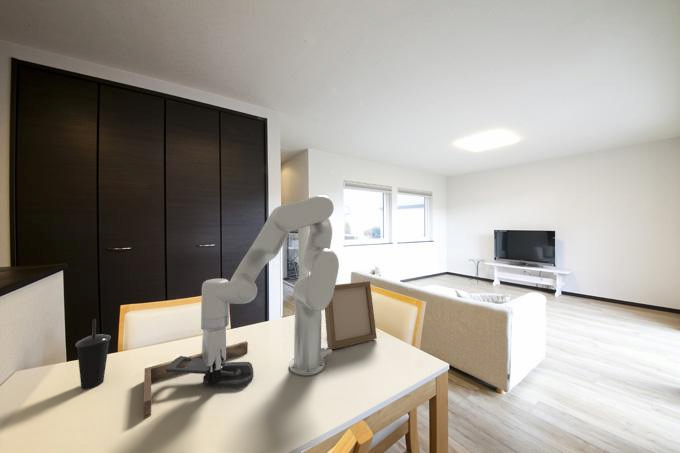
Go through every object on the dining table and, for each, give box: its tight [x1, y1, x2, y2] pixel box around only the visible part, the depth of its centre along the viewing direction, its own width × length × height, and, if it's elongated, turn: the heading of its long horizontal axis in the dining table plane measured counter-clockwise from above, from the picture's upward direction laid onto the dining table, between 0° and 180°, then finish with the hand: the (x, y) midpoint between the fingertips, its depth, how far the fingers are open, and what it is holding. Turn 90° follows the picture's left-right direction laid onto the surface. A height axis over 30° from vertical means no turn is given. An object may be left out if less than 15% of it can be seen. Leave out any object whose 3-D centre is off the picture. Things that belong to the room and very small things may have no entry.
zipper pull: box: [166, 355, 254, 390], centre depth 77 cm, size 9×7×25 cm
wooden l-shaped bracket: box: [143, 341, 249, 419], centre depth 79 cm, size 32×19×4 cm, turn 128°
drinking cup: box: [75, 318, 112, 390], centre depth 75 cm, size 8×8×20 cm
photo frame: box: [324, 280, 378, 350], centre depth 109 cm, size 15×22×25 cm
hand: (213, 382), depth 73 cm, fingers closed
